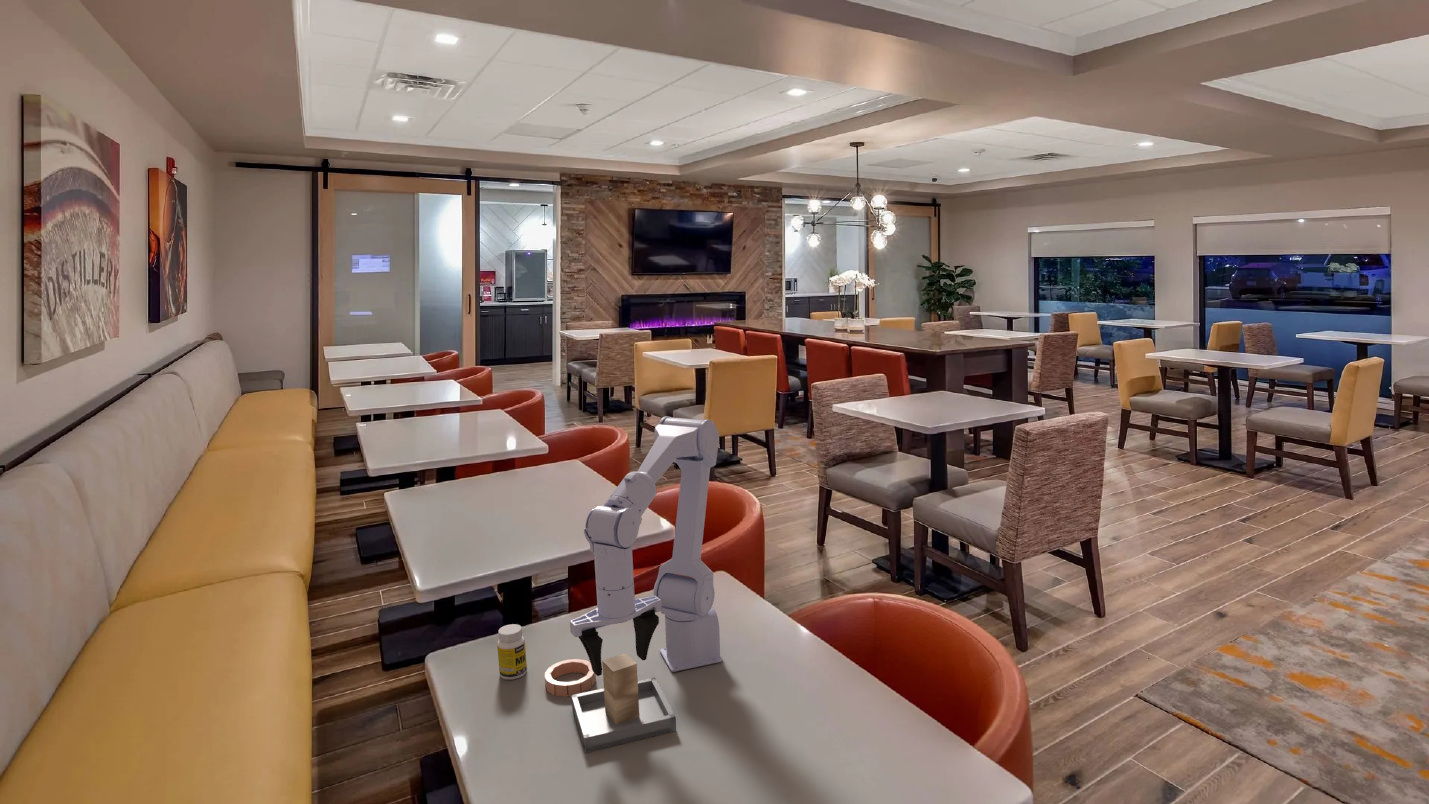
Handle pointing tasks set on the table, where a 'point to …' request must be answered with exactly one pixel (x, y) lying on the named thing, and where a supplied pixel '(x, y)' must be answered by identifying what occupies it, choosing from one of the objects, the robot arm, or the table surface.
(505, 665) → the supplement bottle
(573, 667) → the segmented block ring
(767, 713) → the table surface
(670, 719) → the tray
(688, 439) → the robot arm
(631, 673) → the oak peg
